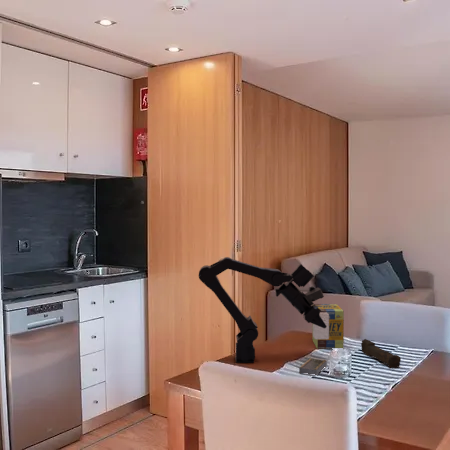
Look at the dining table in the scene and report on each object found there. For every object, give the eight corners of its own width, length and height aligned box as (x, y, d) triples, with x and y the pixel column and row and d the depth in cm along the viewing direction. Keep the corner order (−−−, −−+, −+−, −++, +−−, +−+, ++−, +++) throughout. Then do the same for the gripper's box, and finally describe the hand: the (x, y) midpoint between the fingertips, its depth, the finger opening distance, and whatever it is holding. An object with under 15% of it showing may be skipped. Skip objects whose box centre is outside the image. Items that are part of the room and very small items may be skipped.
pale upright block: (328, 339, 190) (328, 314, 190) (314, 339, 190) (315, 314, 190) (326, 336, 194) (326, 312, 194) (312, 336, 194) (313, 312, 194)
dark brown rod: (401, 368, 182) (401, 352, 182) (388, 369, 181) (388, 353, 181) (370, 351, 205) (370, 337, 204) (358, 352, 204) (358, 338, 203)
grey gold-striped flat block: (316, 376, 174) (316, 369, 174) (299, 373, 176) (299, 366, 176) (326, 366, 184) (326, 359, 184) (310, 364, 187) (310, 357, 187)
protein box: (317, 350, 206) (317, 310, 206) (312, 340, 221) (312, 303, 221) (344, 350, 206) (344, 310, 205) (337, 340, 221) (337, 303, 221)
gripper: (314, 284, 182) (346, 315, 183) (305, 277, 201) (334, 305, 201) (292, 306, 182) (323, 338, 183) (285, 297, 201) (313, 326, 201)
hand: (324, 326), depth 192 cm, fingers closed on pale upright block, 4 cm apart
